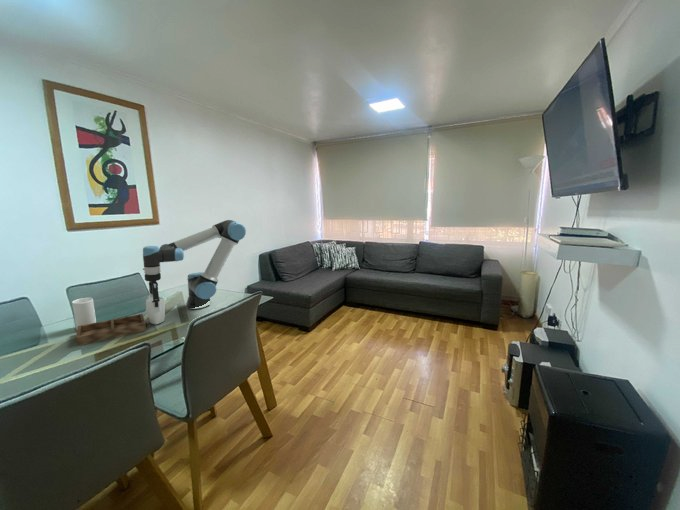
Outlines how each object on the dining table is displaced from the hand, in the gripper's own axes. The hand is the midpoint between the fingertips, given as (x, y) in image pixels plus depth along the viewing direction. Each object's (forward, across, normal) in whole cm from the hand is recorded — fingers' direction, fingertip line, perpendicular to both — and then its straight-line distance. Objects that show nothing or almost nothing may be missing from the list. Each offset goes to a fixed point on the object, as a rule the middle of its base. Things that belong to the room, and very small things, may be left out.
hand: (155, 308), depth 156 cm
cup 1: (+10, -14, -30) cm, 35 cm away
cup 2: (+10, 0, +1) cm, 10 cm away
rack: (+10, 0, -19) cm, 22 cm away
